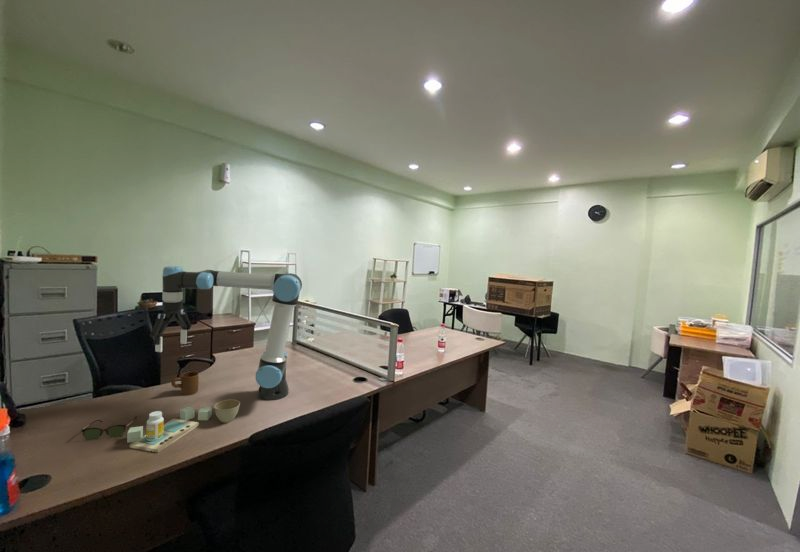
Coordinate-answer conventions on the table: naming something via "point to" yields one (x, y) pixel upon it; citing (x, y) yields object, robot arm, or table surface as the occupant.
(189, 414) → the block
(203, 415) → the block
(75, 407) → the table surface
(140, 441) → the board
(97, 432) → the sunglasses
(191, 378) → the mug
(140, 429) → the block
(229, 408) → the beige bowl
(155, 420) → the supplement bottle
